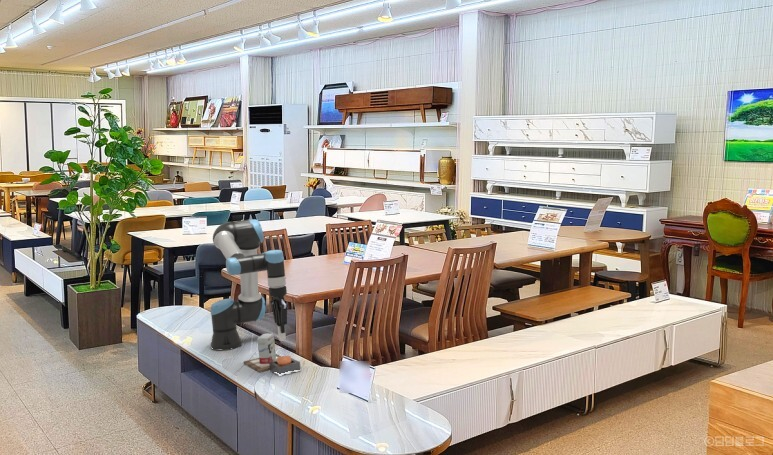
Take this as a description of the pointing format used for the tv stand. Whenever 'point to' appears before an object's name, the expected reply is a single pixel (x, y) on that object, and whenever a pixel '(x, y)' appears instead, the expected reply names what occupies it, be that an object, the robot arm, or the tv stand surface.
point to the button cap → (283, 360)
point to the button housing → (284, 366)
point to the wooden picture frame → (257, 366)
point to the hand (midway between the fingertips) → (282, 339)
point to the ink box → (266, 348)
